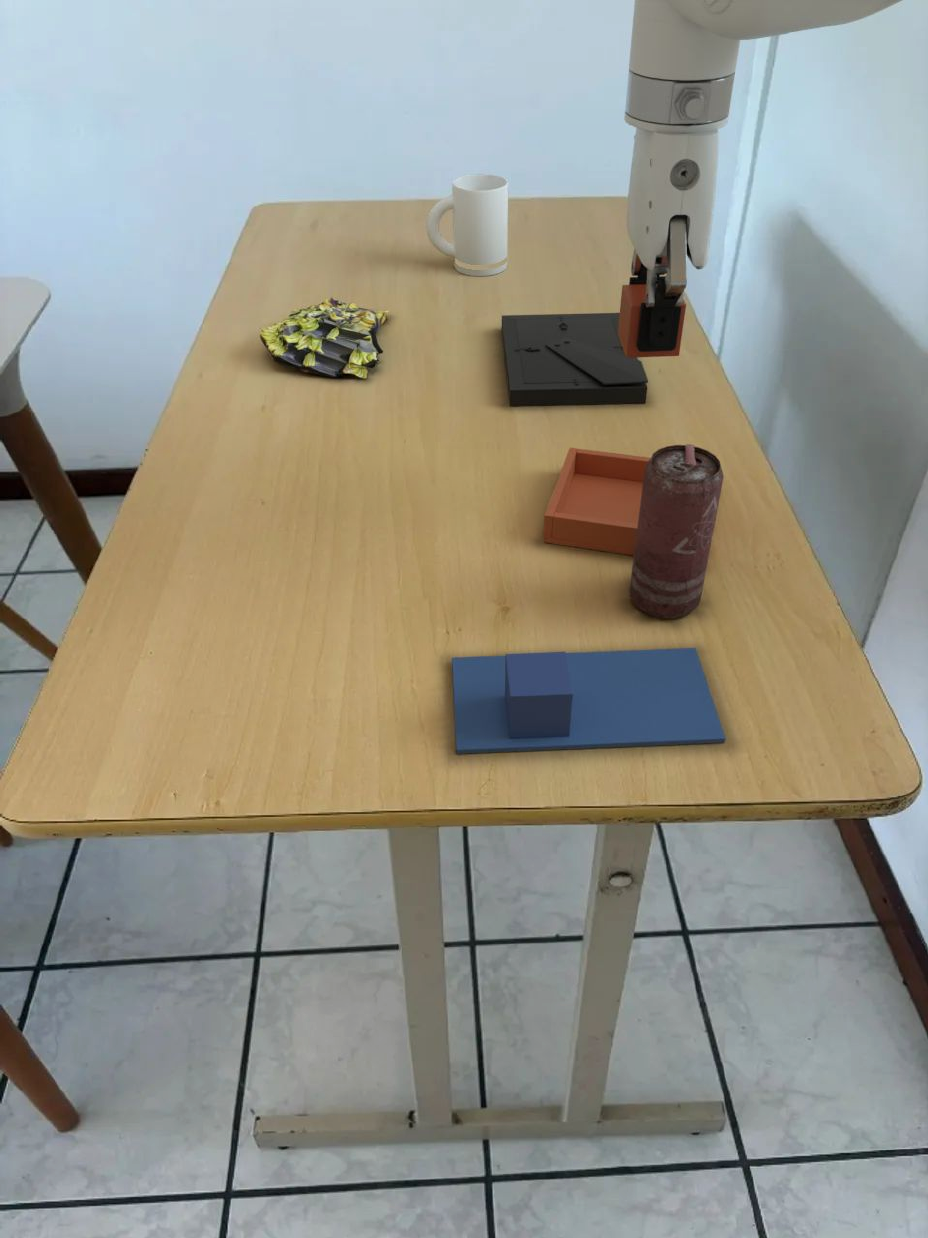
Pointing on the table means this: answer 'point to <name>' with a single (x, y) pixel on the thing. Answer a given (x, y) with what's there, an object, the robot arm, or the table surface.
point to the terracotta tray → (596, 501)
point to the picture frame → (569, 361)
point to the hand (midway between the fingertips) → (649, 333)
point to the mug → (474, 223)
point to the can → (675, 530)
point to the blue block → (538, 695)
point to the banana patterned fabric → (327, 339)
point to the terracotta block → (630, 322)
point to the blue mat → (595, 702)
